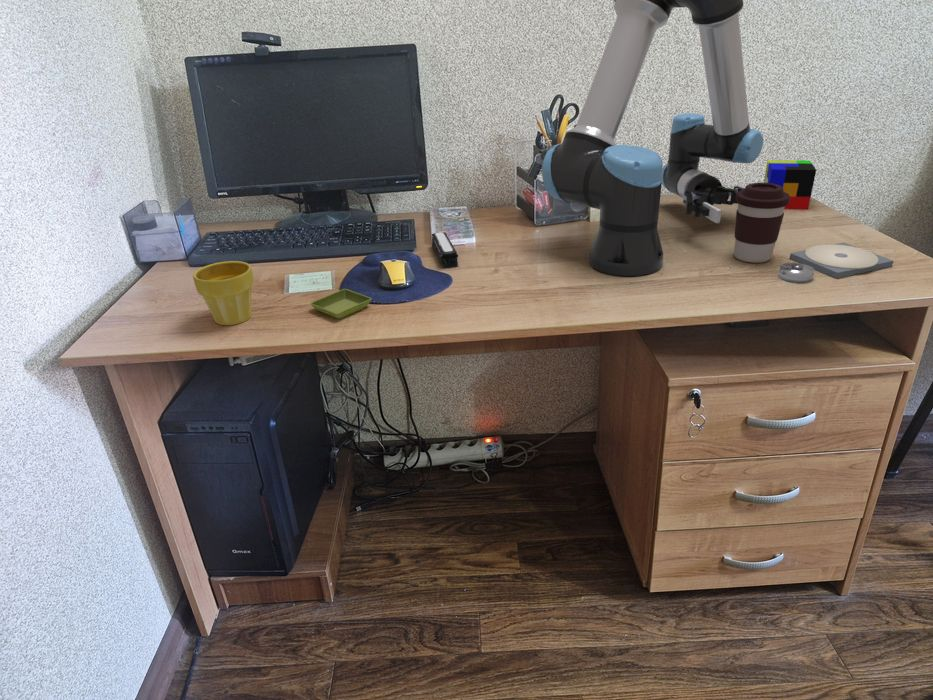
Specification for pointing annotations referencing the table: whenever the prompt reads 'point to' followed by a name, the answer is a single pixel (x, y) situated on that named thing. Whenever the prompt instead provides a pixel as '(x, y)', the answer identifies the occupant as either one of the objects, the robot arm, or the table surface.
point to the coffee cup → (758, 221)
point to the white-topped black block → (444, 250)
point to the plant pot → (226, 290)
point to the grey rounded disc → (796, 272)
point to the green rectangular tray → (341, 303)
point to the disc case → (840, 259)
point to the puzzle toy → (792, 180)
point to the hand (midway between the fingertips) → (748, 213)
